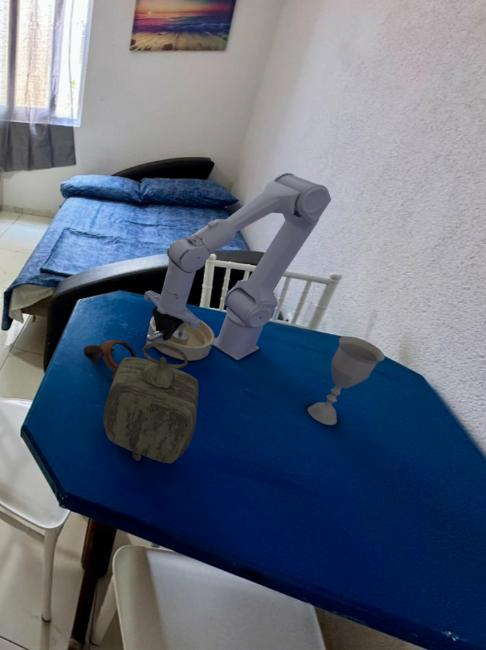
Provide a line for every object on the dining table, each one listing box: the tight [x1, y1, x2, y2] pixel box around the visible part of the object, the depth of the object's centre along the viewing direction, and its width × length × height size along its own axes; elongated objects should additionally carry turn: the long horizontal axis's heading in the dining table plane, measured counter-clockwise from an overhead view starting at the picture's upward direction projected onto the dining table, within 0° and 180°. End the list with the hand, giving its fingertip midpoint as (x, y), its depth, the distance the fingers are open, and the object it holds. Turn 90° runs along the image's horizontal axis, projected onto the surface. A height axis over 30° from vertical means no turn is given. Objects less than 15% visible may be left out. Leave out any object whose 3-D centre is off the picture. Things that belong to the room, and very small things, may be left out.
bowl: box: [146, 315, 215, 361], centre depth 104 cm, size 15×15×4 cm
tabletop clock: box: [102, 343, 200, 464], centre depth 70 cm, size 14×9×25 cm, turn 64°
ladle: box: [145, 322, 189, 355], centre depth 101 cm, size 15×4×6 cm, turn 120°
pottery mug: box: [83, 340, 138, 381], centre depth 95 cm, size 12×10×8 cm
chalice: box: [307, 335, 386, 426], centre depth 81 cm, size 7×7×18 cm
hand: (163, 336), depth 100 cm, fingers closed on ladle
